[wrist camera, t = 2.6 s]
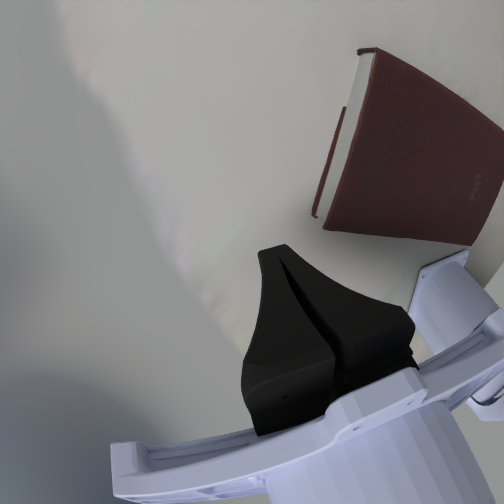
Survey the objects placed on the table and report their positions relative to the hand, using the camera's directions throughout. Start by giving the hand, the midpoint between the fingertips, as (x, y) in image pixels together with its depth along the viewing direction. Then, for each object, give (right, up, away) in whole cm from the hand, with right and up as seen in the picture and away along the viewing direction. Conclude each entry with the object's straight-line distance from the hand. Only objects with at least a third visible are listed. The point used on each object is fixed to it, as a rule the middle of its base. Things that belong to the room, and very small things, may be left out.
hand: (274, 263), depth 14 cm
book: (+13, +8, +7) cm, 17 cm away
